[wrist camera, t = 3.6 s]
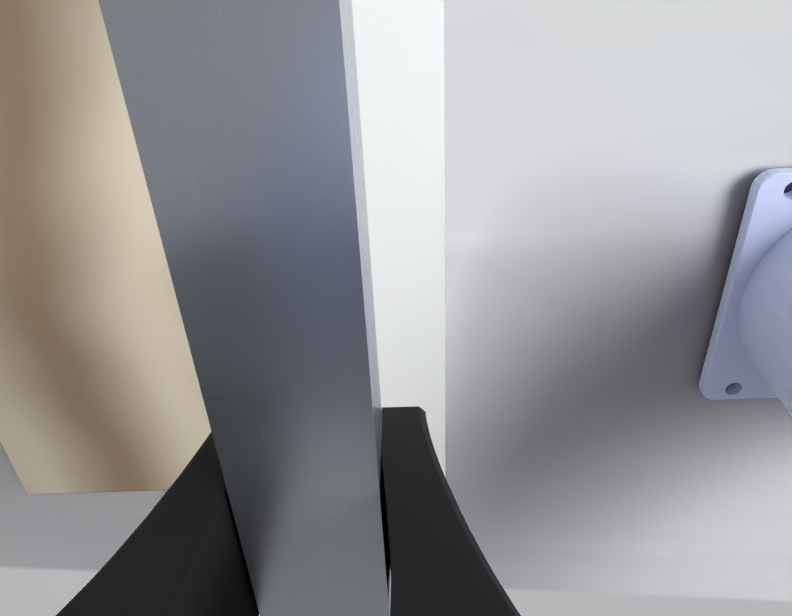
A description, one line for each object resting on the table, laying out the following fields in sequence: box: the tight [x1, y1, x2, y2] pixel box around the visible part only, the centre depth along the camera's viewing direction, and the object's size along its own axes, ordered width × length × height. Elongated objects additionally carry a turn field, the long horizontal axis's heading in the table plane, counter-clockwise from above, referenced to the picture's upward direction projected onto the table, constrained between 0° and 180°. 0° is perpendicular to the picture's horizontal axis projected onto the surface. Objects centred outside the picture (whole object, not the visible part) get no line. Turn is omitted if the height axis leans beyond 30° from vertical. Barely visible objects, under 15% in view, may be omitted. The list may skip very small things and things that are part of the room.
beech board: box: [0, 0, 211, 494], centre depth 19 cm, size 8×20×1 cm, turn 2°
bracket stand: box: [352, 0, 446, 478], centre depth 16 cm, size 5×22×7 cm, turn 2°
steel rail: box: [98, 0, 391, 616], centre depth 10 cm, size 2×24×2 cm, turn 2°
